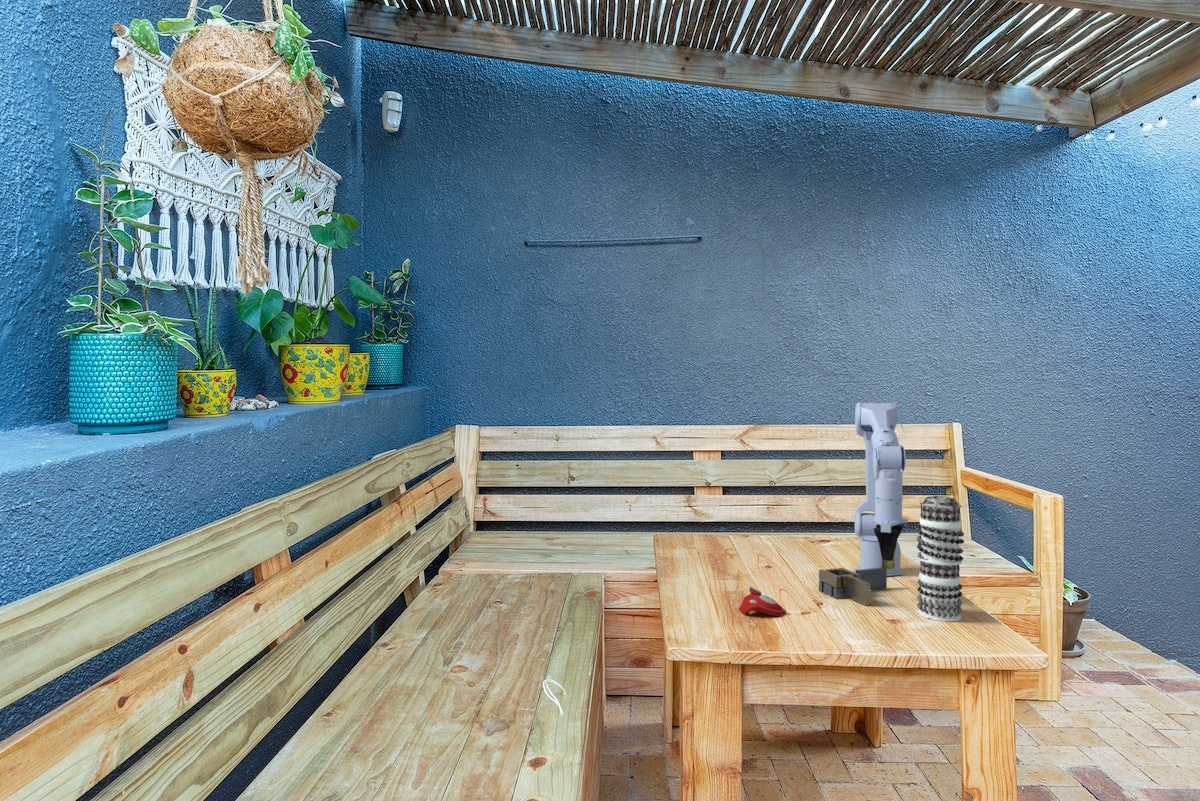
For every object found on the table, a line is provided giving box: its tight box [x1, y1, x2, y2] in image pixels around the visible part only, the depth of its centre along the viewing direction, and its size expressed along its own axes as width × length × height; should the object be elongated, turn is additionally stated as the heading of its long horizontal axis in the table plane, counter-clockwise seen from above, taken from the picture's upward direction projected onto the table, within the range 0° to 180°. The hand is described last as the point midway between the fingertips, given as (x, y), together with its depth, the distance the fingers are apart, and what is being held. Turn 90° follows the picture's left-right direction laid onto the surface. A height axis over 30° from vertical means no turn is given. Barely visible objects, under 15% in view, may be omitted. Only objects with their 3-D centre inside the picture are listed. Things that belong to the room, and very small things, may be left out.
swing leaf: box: [818, 567, 871, 606], centre depth 165 cm, size 13×7×5 cm, turn 19°
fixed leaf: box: [818, 567, 888, 600], centre depth 170 cm, size 16×7×5 cm, turn 109°
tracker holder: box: [738, 586, 785, 617], centre depth 157 cm, size 12×4×10 cm
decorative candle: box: [915, 495, 965, 622], centre depth 152 cm, size 9×9×25 cm
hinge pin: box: [882, 529, 897, 569], centre depth 163 cm, size 4×4×9 cm
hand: (888, 558), depth 163 cm, fingers closed on hinge pin, 3 cm apart
